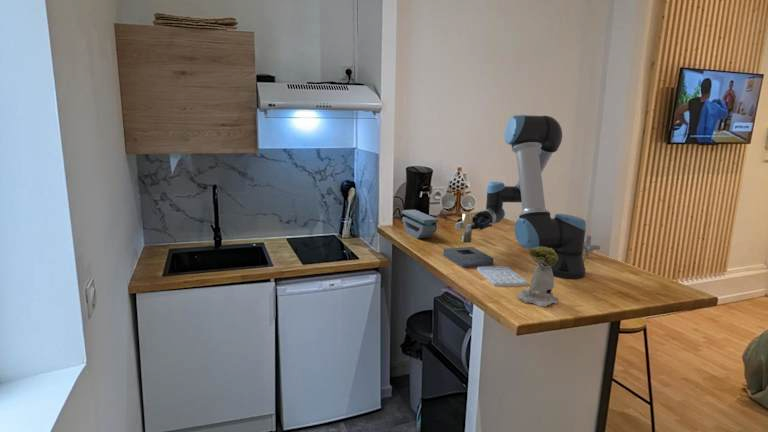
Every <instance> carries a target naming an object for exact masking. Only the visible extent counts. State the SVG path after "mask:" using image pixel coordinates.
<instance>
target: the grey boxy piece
mask: <svg viewBox="0 0 768 432" xmlns="http://www.w3.org/2000/svg"><path fill="white" fill-rule="evenodd" d="M401 214H403V215H404V216H402V224H403V227H404V229H405V233H406V234H407V235H409V236H410V237H413V238H415V239H416V240H418V239H431V238H432V237H433V235H434V234H435V233H436V231H437V230H438V225H437V224H435V223H439V219H438V218H436V217H434V216H432V215H429V214H426V213H424V212H421V210H417V209H404V210H403V209H402V210H401Z"/></svg>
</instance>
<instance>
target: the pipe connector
mask: <svg viewBox="0 0 768 432" xmlns="http://www.w3.org/2000/svg"><path fill="white" fill-rule="evenodd" d="M591 238H592V236H591V235H586V238H585V241H584V247H583V250H584V256H583V257H585V258H584V259H587V258H588V259H589V257H590V253H593V252H594V250H596V251H597V250H599V251H600V250H601V246H600V245H593V244H591V241H592V240H591Z"/></svg>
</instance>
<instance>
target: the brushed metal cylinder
mask: <svg viewBox="0 0 768 432" xmlns="http://www.w3.org/2000/svg"><path fill="white" fill-rule="evenodd" d="M473 217H474V214H473V213H471V212H463V213H462V216H461V218H462V228H461V232H460V233H461V234H460V242H461V243H465V244H466V243H468V244H469V243H472V237H473V236H472V235H473V230H471V231H469V232H466V225H468V224H471V223H473Z"/></svg>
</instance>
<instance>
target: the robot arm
mask: <svg viewBox="0 0 768 432" xmlns="http://www.w3.org/2000/svg"><path fill="white" fill-rule="evenodd" d="M562 140H563V129H562V127H561V125H560V122H558V121H557V120H556V119H555V118H554V117H552V116H549V115H529V114H519V115H513V116H511V117H510V118H509V119H508V121H507V124H506V126H505V130H504V141H505V142H506V144H508V145H510V146H511V150H512V151H511V152H513V153H514V154H516V163H517V171H518V181H517V182H516V184H515V186H514V185H513V186H507V185H506V186H505V183H504V182H502V181H490V182H488V185H487V190H486V205H485V209H484V210H480V211H478V212H476V213H475V215H473V223H471V224H468V225H466V232H469V231H471V230H472V231H474V230H478V229H479V230H481V231H482V230H485V229H487V228H489V227H493V225H494V224H497V223H499V222H501V221H502V220H504V218H505V215H506V212H505V209H504V208H503V205H504V203H521V209H522V211H521V212H520V214H519V215H518V217H519V218H518V219H517V220H516V221H515V223H514V234H515V239H516V241H517V242H518V244H519V245H520V246H521V247H522V248H524V249H526V250H527V249H530V250H532V248H533V247H534V248H535V247H548V248H551V249H553V250H554V251H555V252H556V254H557V256H558V261H557V262H556V263H555V265H554V266H551V269H552V272H553V277H556V278H561V279H563V278H564V279H570V280H571V279H573V280H574V279H582V278H585V276H586V268H585V263H584V262H585V261H584V258H583V257H584V256H583V254H584V249H583V247H584V242H585V239H586V238H585V236H586V231H587V221H586V220H585V219H584V218H581V217H579V216H574V215H570V214H566V213H565V214H564V213H555V214H554V218H552V216H551V211H549V210H548V209H546V203H545V201H546V200H545V194H544V193H545V192H544V186H543V184H544V183H543V176H542V173H543V171H544V169H545V168H546V166H547V164H548V162H549V160H550V159H551V157H552V155H553V154H554V153H556V152H557V151H558V150H559V148H560V146H561V144H562ZM460 229H462V217H461V218H458V219H457V221H456V222H455V224H454V230H455V231H458V230H460Z"/></svg>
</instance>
